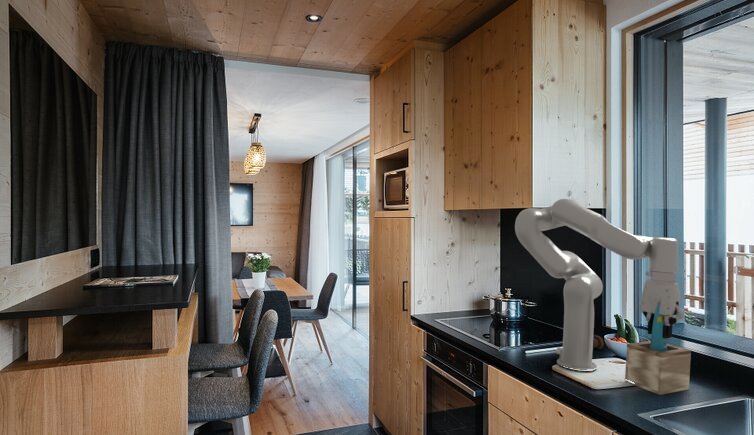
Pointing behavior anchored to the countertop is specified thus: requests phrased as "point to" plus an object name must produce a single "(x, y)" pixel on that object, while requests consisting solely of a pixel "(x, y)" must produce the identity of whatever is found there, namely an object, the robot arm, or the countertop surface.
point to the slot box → (658, 368)
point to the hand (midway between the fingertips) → (659, 335)
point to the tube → (658, 332)
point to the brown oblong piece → (597, 342)
